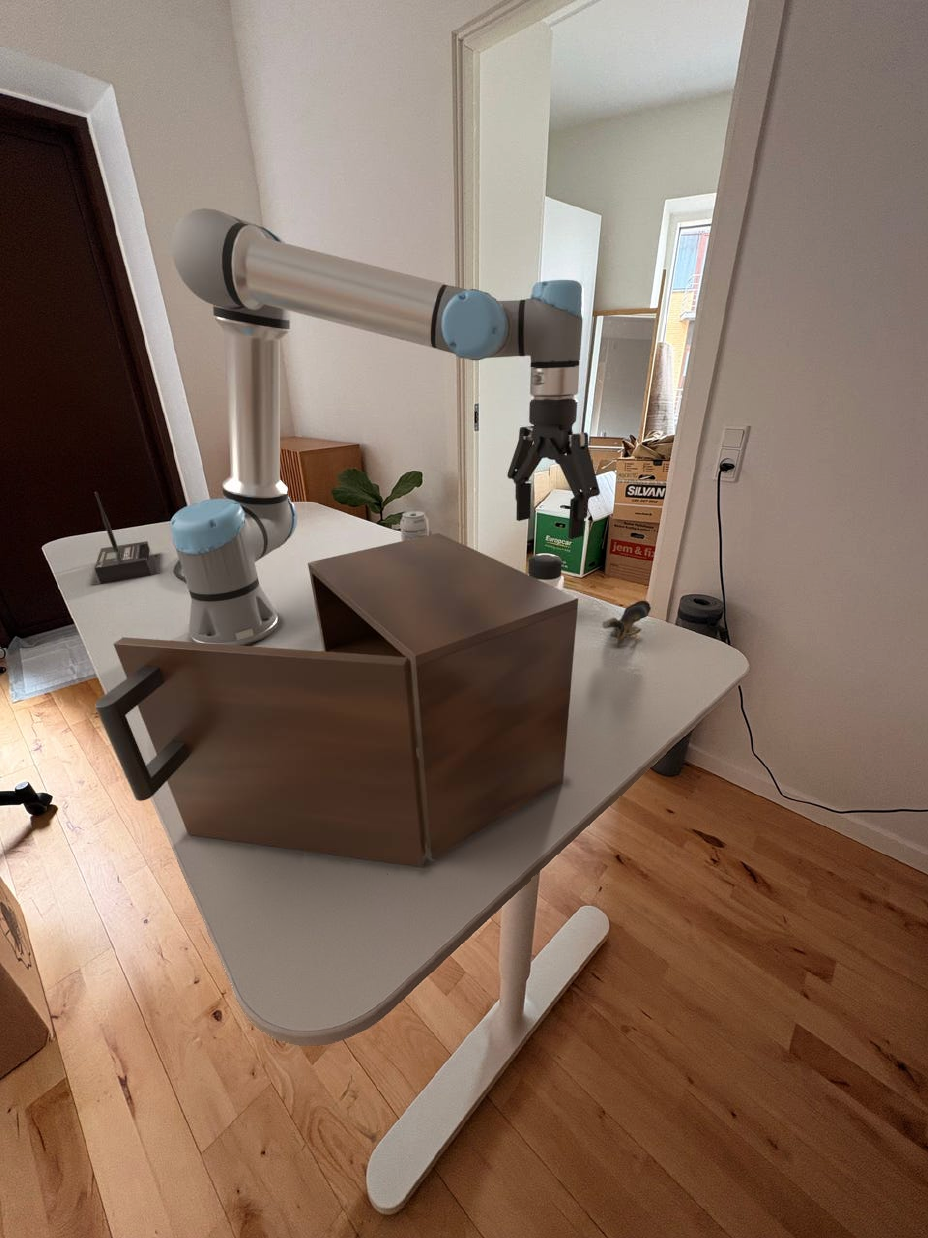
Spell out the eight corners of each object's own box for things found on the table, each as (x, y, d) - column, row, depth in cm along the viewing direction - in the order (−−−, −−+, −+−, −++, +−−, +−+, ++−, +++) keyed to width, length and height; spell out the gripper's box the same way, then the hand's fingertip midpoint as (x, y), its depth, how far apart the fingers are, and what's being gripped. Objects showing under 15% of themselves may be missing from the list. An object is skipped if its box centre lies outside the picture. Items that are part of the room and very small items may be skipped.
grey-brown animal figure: (652, 648, 85) (660, 616, 91) (631, 615, 83) (640, 585, 89) (611, 659, 90) (621, 628, 96) (590, 628, 88) (602, 599, 94)
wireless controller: (159, 573, 124) (136, 503, 116) (91, 585, 119) (62, 512, 111) (159, 549, 140) (139, 486, 132) (99, 559, 134) (75, 493, 126)
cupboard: (431, 859, 52) (415, 656, 41) (336, 724, 71) (307, 562, 60) (563, 782, 61) (578, 598, 50) (446, 681, 80) (438, 532, 69)
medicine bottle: (560, 625, 95) (564, 565, 90) (522, 622, 97) (523, 563, 91) (562, 608, 101) (565, 551, 96) (525, 606, 103) (527, 549, 97)
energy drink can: (433, 573, 120) (429, 509, 113) (429, 583, 114) (425, 517, 107) (408, 573, 120) (402, 509, 113) (402, 583, 115) (396, 517, 108)
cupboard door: (407, 925, 46) (380, 710, 35) (149, 884, 50) (54, 681, 39) (426, 857, 52) (408, 657, 41) (194, 826, 56) (123, 637, 45)
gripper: (487, 395, 89) (489, 516, 98) (595, 403, 70) (584, 550, 80) (521, 393, 92) (519, 509, 102) (632, 399, 74) (617, 540, 83)
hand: (548, 527), depth 91 cm, fingers open, 13 cm apart
